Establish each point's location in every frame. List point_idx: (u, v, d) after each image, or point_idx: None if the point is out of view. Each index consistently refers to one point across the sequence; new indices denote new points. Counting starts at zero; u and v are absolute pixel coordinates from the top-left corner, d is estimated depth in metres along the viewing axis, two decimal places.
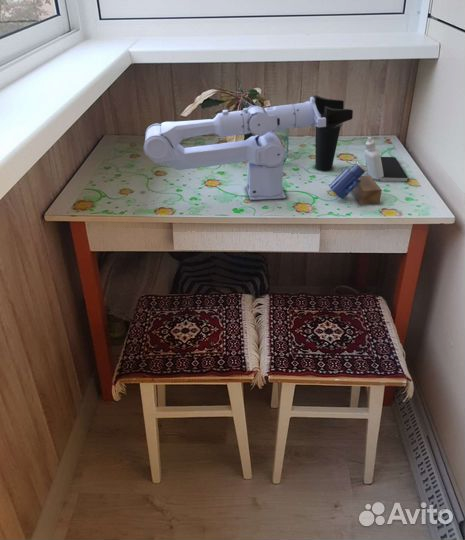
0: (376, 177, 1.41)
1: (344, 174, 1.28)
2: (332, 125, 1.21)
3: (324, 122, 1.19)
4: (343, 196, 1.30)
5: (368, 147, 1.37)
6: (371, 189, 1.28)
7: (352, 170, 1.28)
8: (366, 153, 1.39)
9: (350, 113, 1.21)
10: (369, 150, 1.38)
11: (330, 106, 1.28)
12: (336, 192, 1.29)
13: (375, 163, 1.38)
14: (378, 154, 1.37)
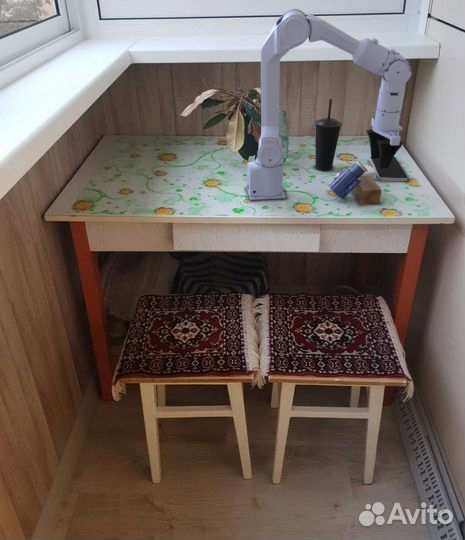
0: None
1: (344, 174, 1.28)
2: (383, 150, 1.21)
3: (395, 143, 1.18)
4: (343, 196, 1.30)
5: None
6: (371, 189, 1.28)
7: (352, 170, 1.28)
8: None
9: (386, 166, 1.25)
10: None
11: (377, 145, 1.29)
12: (336, 192, 1.29)
13: None
14: None
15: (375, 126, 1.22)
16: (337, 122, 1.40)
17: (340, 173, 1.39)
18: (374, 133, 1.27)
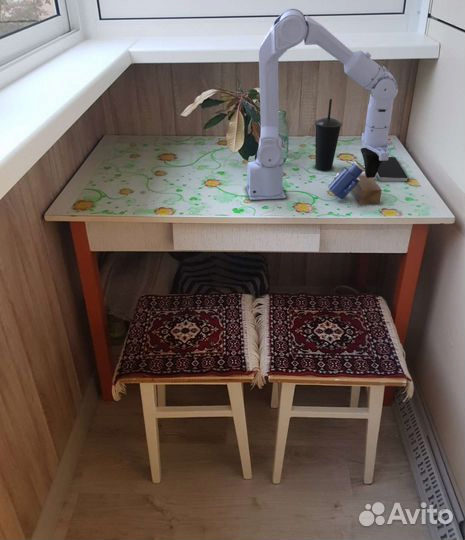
0: None
1: (342, 175, 1.28)
2: (369, 160, 1.25)
3: (384, 159, 1.20)
4: (343, 196, 1.30)
5: None
6: (371, 189, 1.28)
7: (350, 170, 1.28)
8: None
9: (372, 175, 1.29)
10: None
11: None
12: (335, 193, 1.29)
13: None
14: None
15: (364, 141, 1.24)
16: (337, 122, 1.40)
17: None
18: None
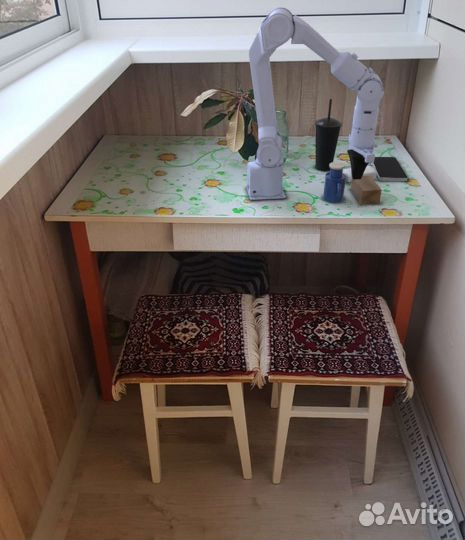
0: None
1: (326, 183, 1.29)
2: (355, 162, 1.25)
3: (370, 161, 1.20)
4: (339, 199, 1.30)
5: None
6: (371, 189, 1.28)
7: (331, 175, 1.28)
8: None
9: (359, 177, 1.29)
10: None
11: None
12: (331, 201, 1.30)
13: None
14: None
15: (351, 143, 1.24)
16: (337, 122, 1.40)
17: None
18: None
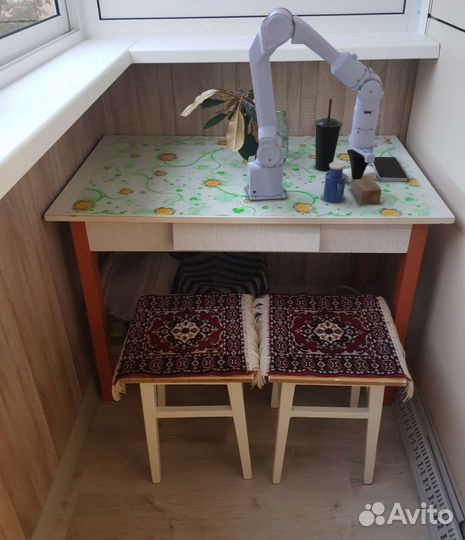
0: None
1: (326, 183, 1.29)
2: (355, 162, 1.25)
3: (370, 161, 1.20)
4: (339, 199, 1.30)
5: None
6: (371, 189, 1.28)
7: (331, 175, 1.28)
8: None
9: (359, 177, 1.29)
10: None
11: None
12: (331, 201, 1.30)
13: None
14: None
15: (351, 143, 1.24)
16: (337, 122, 1.40)
17: None
18: None
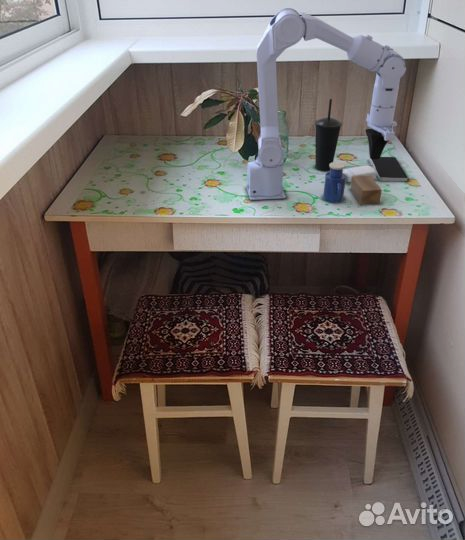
0: None
1: (326, 183, 1.29)
2: (374, 141, 1.24)
3: (389, 139, 1.19)
4: (339, 199, 1.30)
5: None
6: (371, 189, 1.28)
7: (331, 175, 1.28)
8: None
9: (377, 157, 1.28)
10: None
11: None
12: (331, 201, 1.30)
13: None
14: None
15: (370, 121, 1.23)
16: (337, 122, 1.40)
17: None
18: None
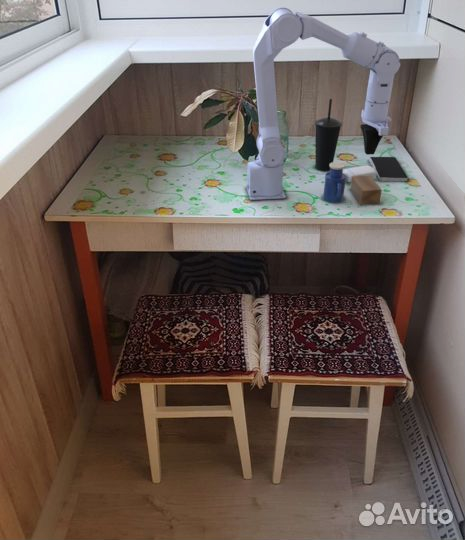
0: None
1: (326, 183, 1.29)
2: (369, 136, 1.26)
3: (384, 134, 1.21)
4: (339, 199, 1.30)
5: None
6: (371, 189, 1.28)
7: (331, 175, 1.28)
8: None
9: (372, 152, 1.30)
10: None
11: None
12: (331, 201, 1.30)
13: None
14: None
15: (364, 117, 1.25)
16: (337, 122, 1.40)
17: None
18: None
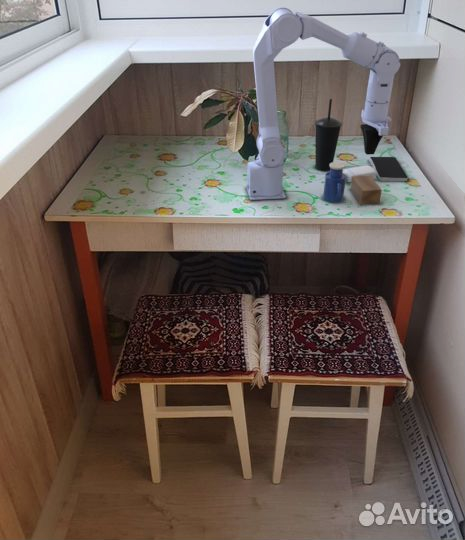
0: None
1: (326, 183, 1.29)
2: (369, 136, 1.26)
3: (384, 134, 1.21)
4: (339, 199, 1.30)
5: None
6: (371, 189, 1.28)
7: (331, 175, 1.28)
8: None
9: (372, 152, 1.30)
10: None
11: None
12: (331, 201, 1.30)
13: None
14: None
15: (364, 117, 1.25)
16: (337, 122, 1.40)
17: None
18: None
